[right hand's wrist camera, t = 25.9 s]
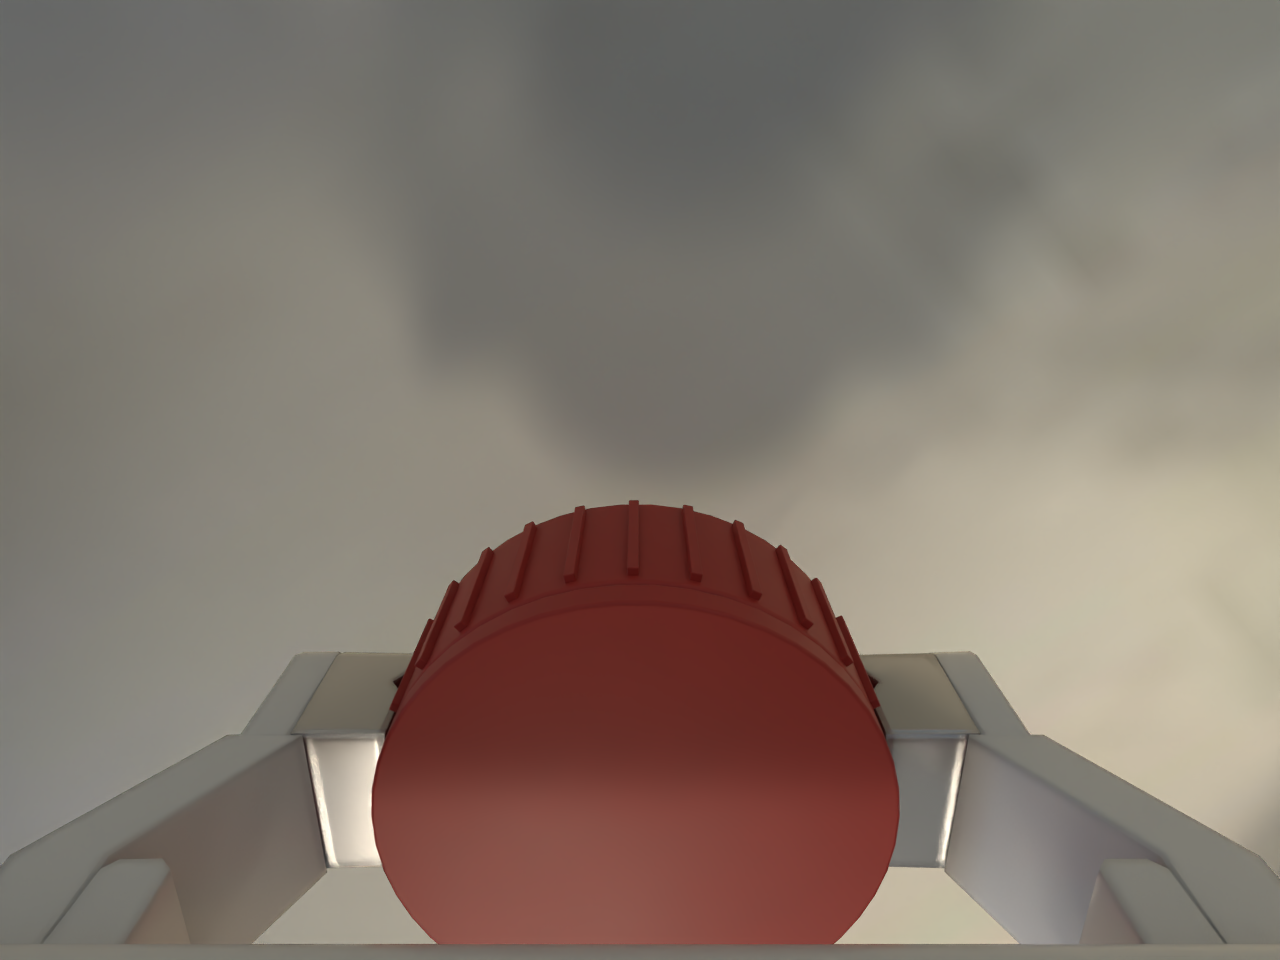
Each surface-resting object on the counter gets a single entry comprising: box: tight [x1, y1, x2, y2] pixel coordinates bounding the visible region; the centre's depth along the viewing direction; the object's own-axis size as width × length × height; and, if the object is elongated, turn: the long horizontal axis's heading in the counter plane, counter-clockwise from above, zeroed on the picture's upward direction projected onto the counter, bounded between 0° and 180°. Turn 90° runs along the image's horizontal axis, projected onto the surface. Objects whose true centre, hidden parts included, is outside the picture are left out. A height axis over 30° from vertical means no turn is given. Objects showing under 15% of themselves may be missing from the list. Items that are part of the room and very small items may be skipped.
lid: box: [371, 500, 900, 944], centre depth 9 cm, size 5×5×2 cm
